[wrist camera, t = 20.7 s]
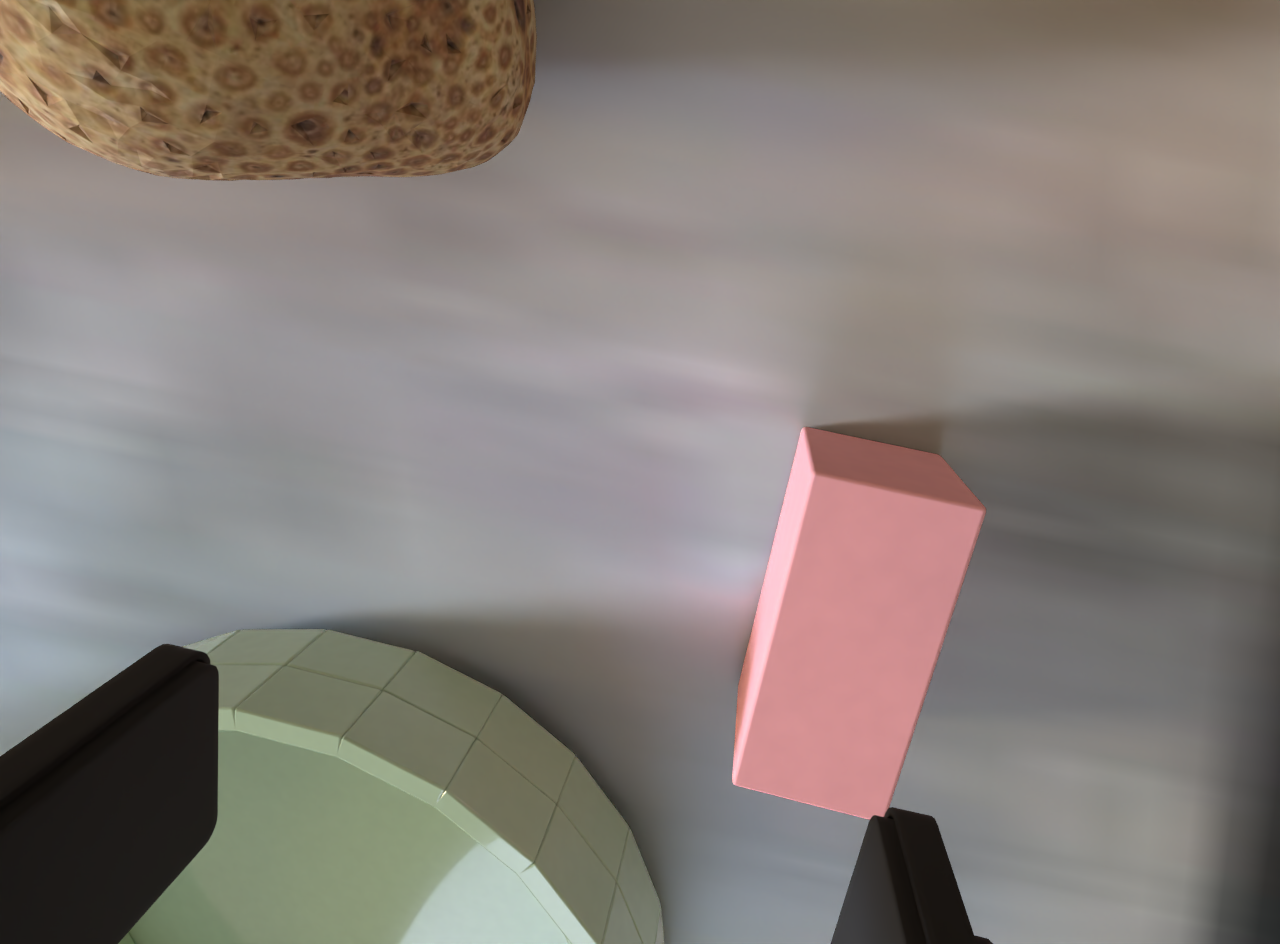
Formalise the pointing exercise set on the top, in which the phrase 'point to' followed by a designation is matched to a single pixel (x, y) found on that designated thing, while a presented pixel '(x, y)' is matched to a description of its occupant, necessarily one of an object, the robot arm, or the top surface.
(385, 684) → the bowl
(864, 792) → the eraser
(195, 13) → the natural sponge
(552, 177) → the top surface
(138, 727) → the robot arm
